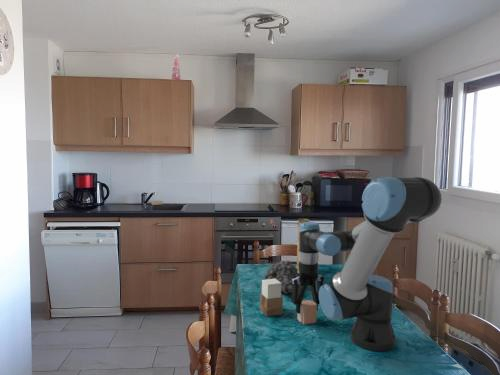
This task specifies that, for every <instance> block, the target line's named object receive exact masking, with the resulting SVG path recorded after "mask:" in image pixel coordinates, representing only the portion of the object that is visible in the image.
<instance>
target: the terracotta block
mask: <svg viewBox="0 0 500 375" xmlns="http://www.w3.org/2000/svg"><path fill="white" fill-rule="evenodd" d="M313 302H314V301H313ZM313 302H312V300H310V299H309V300H302V303H301V305H302V306H303V310H302V322H301V323H302V325H309V324H315V323H317V312H318V311H317V305H316V304H315V303H313ZM297 317H298V313H297V312H296V318H297Z"/></svg>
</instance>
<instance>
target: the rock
mask: <svg viewBox="0 0 500 375" xmlns="http://www.w3.org/2000/svg"><path fill="white" fill-rule="evenodd" d="M297 272H298V269H297V267H296V266H295V265H294V264H293V263H290V260H286V261H284V260H280V261H279V262H276V263H275V264H271V266H270V268H268V269H267V273H265V274H264V278H265V280H266V279H276V280H278V281H279V282H281V293H282V294H285V295H286V294H289V293H292V280H291V279H292V278H297V277H298V275H299V273H297Z"/></svg>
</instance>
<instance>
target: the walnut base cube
mask: <svg viewBox="0 0 500 375" xmlns="http://www.w3.org/2000/svg"><path fill="white" fill-rule="evenodd" d="M259 295H260V296H259V298H260V300H259V310H260V312H262V313H263V314H264V316H265V317H273V316H278V315H283V307H284V306H283V305H284V303H283V302H284V301H283V300H284V297H282V296H281V297H280V298H273V299H267V298H266V297H265V296H263V295H262V292H261V293H260V294H259Z"/></svg>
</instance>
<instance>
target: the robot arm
mask: <svg viewBox="0 0 500 375" xmlns="http://www.w3.org/2000/svg"><path fill="white" fill-rule="evenodd" d="M442 200H443V199H442V193H441V190H440V189H439V187H438V186H437V184H436V183H435V182H433V181H432V180H430V179H427V178H425V177H419V176H416V177H395V176H386V177H380V178H379V177H378V178H375V179H373V180H372V181H370V182H369V183H368V184H367V185H366V186H365V188H364V190H363V192H362V196H361V201H362V203H361V208H362V211H363V216H364V219H365V220H364V221H363V222H361V223H358V225H356V226H354V227H353V228H351V229H349V230H341V231H323V230H321V229H320V224H319V223H318V222H313V221H309V222H303V223H301V224H300V232H299V261H300V262H299V275H298V277H297V278H292V279H291V280H292V292H291V303H292V304H293V305H295V312H296V314H297V313H298V317H297V316H296V318H297V321H299V322H300V323H302V310H303V306H302V305H301V303H302V301H304V296H305V293H306V289H307V287H309V288H310V292H311V297H312V300H313V301H312V300H311V301H312V302H313V303H315V304H316V305H317V312H318V311H319V305H320V308H321V311H322V312H323V315H325V317H326V318H328V320H331V321H343V320H347V319H348V320H349V319H353V318H355V320H354V322H353V326H352V327H351V330H350V340H351V342H352V343H353V344H354V345H356V346H358V347H360V348H362V349H365V350H369V351H372V352H373V351H374V352H389V351H391V350H393V349H394V348H395V347H396V341H397V340H396V336H395V331H394V328H393V327H394V326H393V324H392V313H393V312H392V311H393V299H394V298H393V297H394V285H393V284H394V283H393V282H392V281H391V280H390V279H388V278H386V277H384V276H382V275H381V276H380V275H377V274H373V273H374V272H375V270H376V268H377V266H378V265H379V262H380V260H381V259H382V257H383V255H384V253H385V251H386V250H387V247H388V246H389V245H390V242H391V241H392V239H393V237H394V235H395V234H400V233H402V231H403V230H404V229H405V227H406V225H407V224H410V223H415V224H416V223H420V222H421V221H423V220H425V219H427V218H429V217H431V216H434V214H436V213H437V212H438V210H439V209H440V208H441V204H442ZM343 252H349V255H348V257H347V259H346V261H345V263H344V265H343V267H342V268H341V269H342V270H341V271H338V272H336V273H335V274H334V276H333V277H332V279H331V281H330V283H328V284H326V283H325V284H324V280H325V276H323V275H321V274H318V272H319V253H320V254H322V255H324V256H327V257H333V256H335V255H337V254H338V253H343Z"/></svg>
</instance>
